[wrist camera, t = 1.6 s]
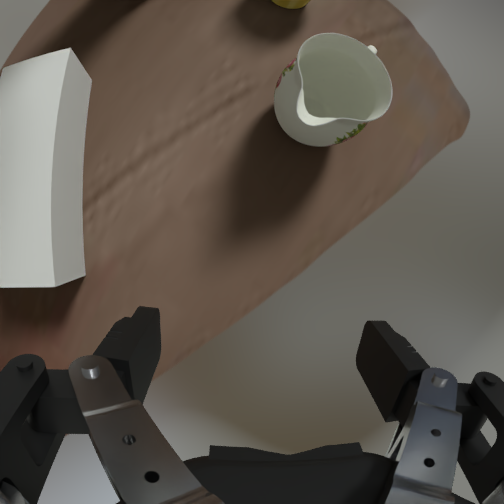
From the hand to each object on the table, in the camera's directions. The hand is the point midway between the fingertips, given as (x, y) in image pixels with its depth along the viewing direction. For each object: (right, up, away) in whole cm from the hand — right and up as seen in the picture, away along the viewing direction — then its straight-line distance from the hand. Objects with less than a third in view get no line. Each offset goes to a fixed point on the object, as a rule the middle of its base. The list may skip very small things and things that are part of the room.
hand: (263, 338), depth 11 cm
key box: (-26, +13, +21) cm, 36 cm away
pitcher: (+7, +22, +27) cm, 35 cm away
